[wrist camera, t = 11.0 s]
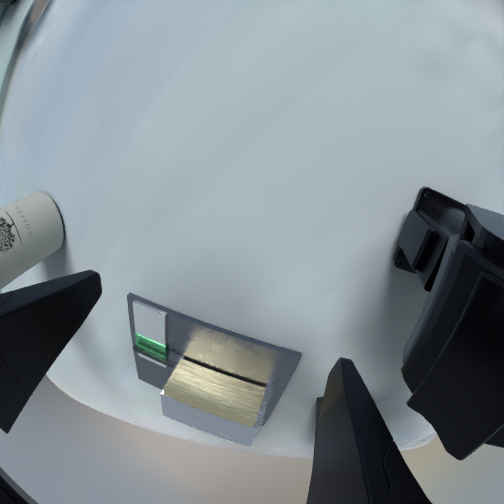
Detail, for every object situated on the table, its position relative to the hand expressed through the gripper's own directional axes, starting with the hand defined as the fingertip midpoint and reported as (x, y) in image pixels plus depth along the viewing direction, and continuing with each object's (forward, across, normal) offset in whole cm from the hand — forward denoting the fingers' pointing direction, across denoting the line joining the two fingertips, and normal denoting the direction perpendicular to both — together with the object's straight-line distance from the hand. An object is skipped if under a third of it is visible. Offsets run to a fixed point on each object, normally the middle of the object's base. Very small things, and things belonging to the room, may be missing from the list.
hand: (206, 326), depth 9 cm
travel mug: (+13, +27, +8) cm, 31 cm away
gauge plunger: (+12, +4, +23) cm, 26 cm away
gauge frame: (+13, +3, +21) cm, 25 cm away
